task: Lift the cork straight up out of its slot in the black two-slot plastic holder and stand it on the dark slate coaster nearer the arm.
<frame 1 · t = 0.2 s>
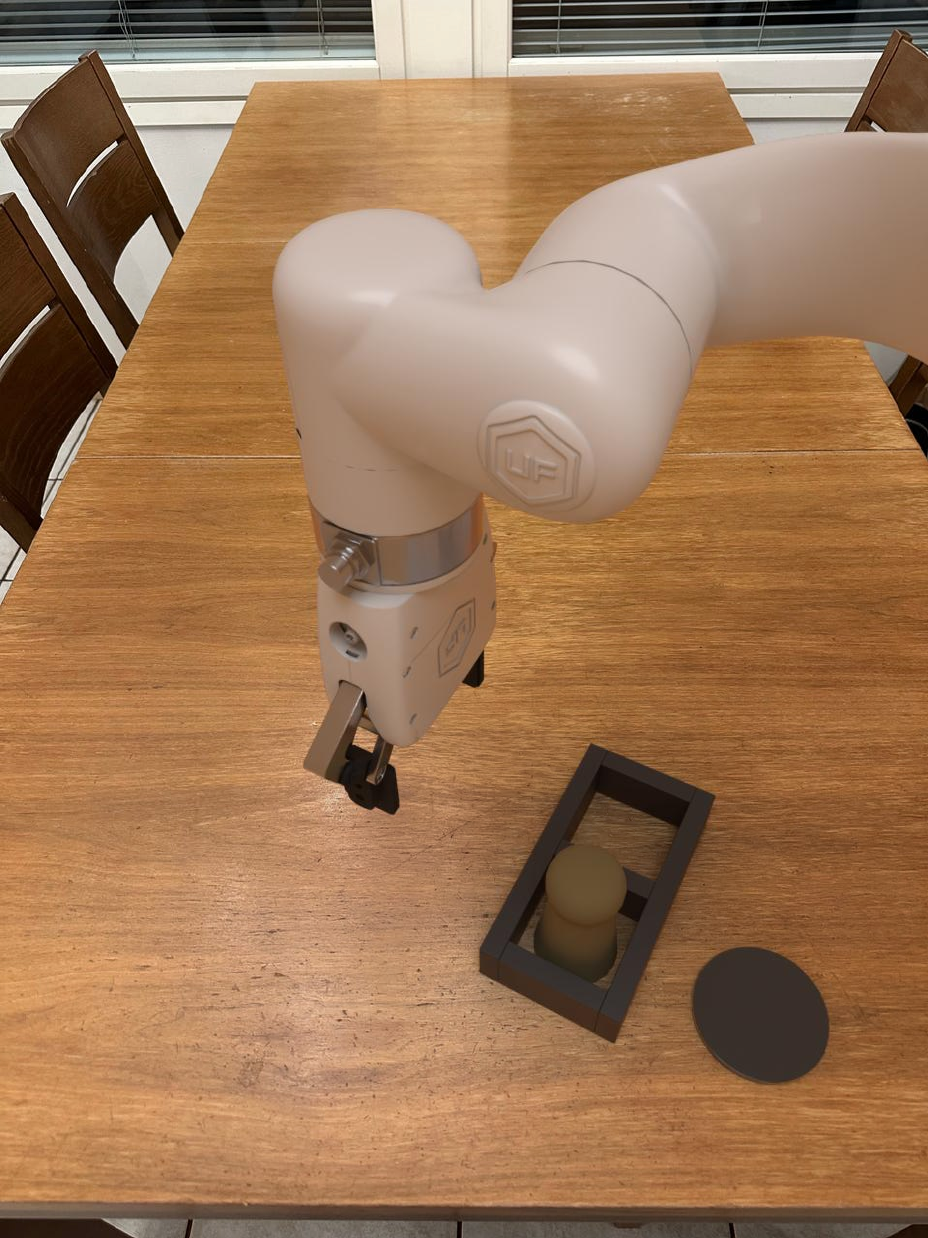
hand: (417, 735, 54), 21 cm above the table, tool pointing down, fingers open, 9 cm apart
coaster: (758, 1014, 64), on the table
holder: (599, 893, 70), on the table
cork: (575, 944, 68), resting in holder
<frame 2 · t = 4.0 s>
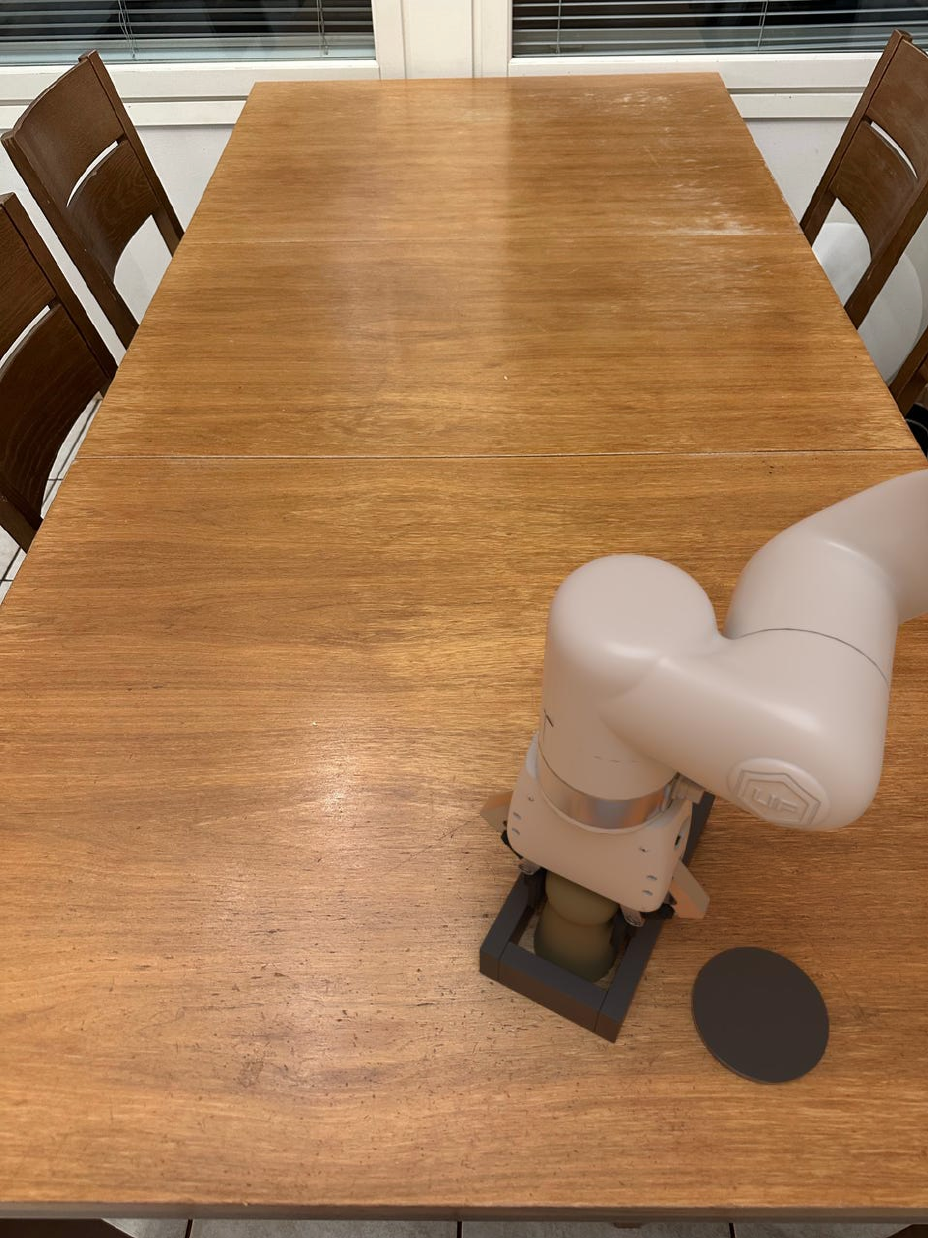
hand: (581, 907, 63), 6 cm above the table, tool pointing down, fingers closed on cork, 5 cm apart
cork: (575, 944, 68), resting in holder, touching gripper
when the fingers open (6 cm above the table, at t = 10.9 s): cork stays where it is, resting on coaster.
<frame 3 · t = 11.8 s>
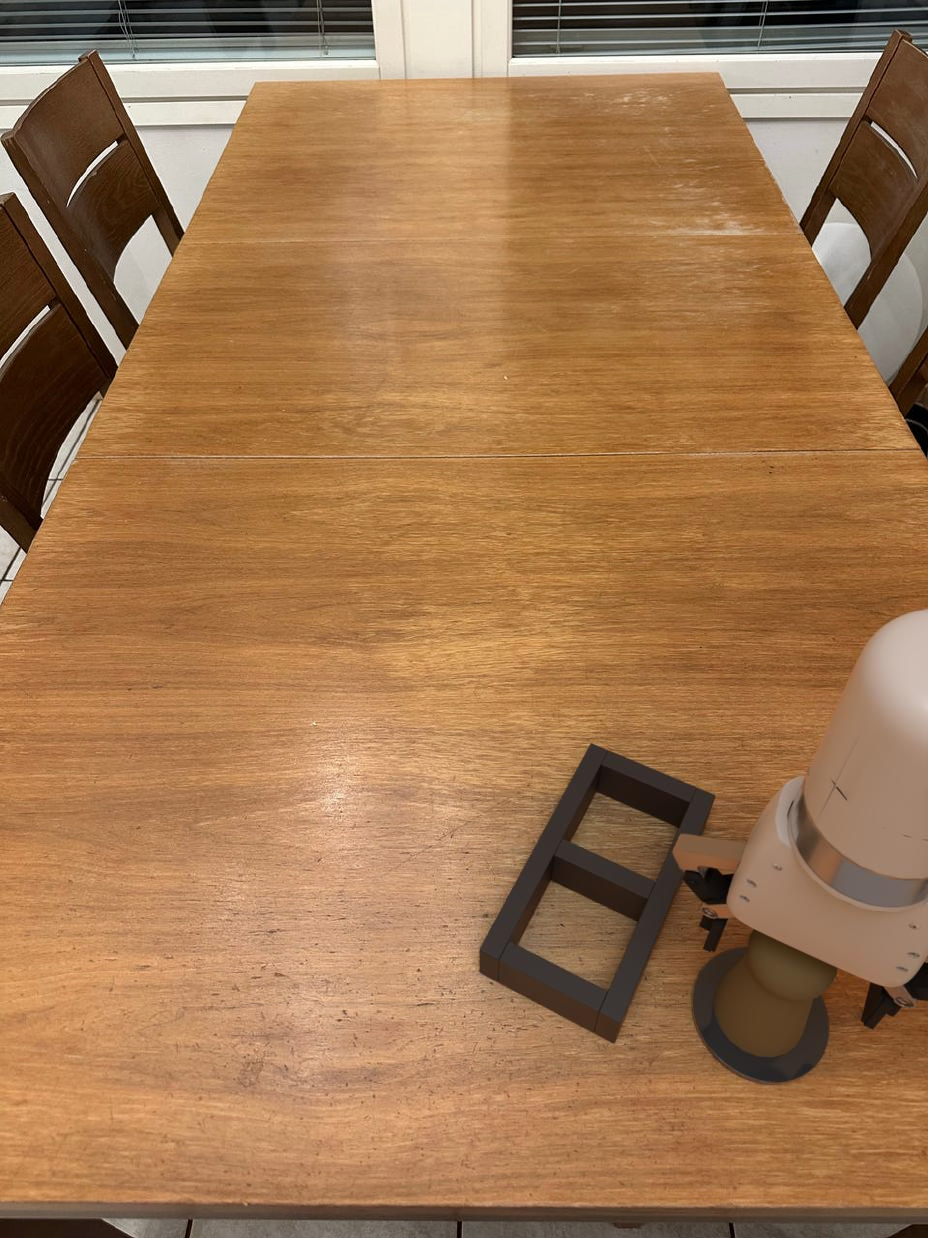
hand: (791, 967, 58), 8 cm above the table, tool pointing down, fingers open, 9 cm apart
cork: (758, 1011, 64), resting on coaster
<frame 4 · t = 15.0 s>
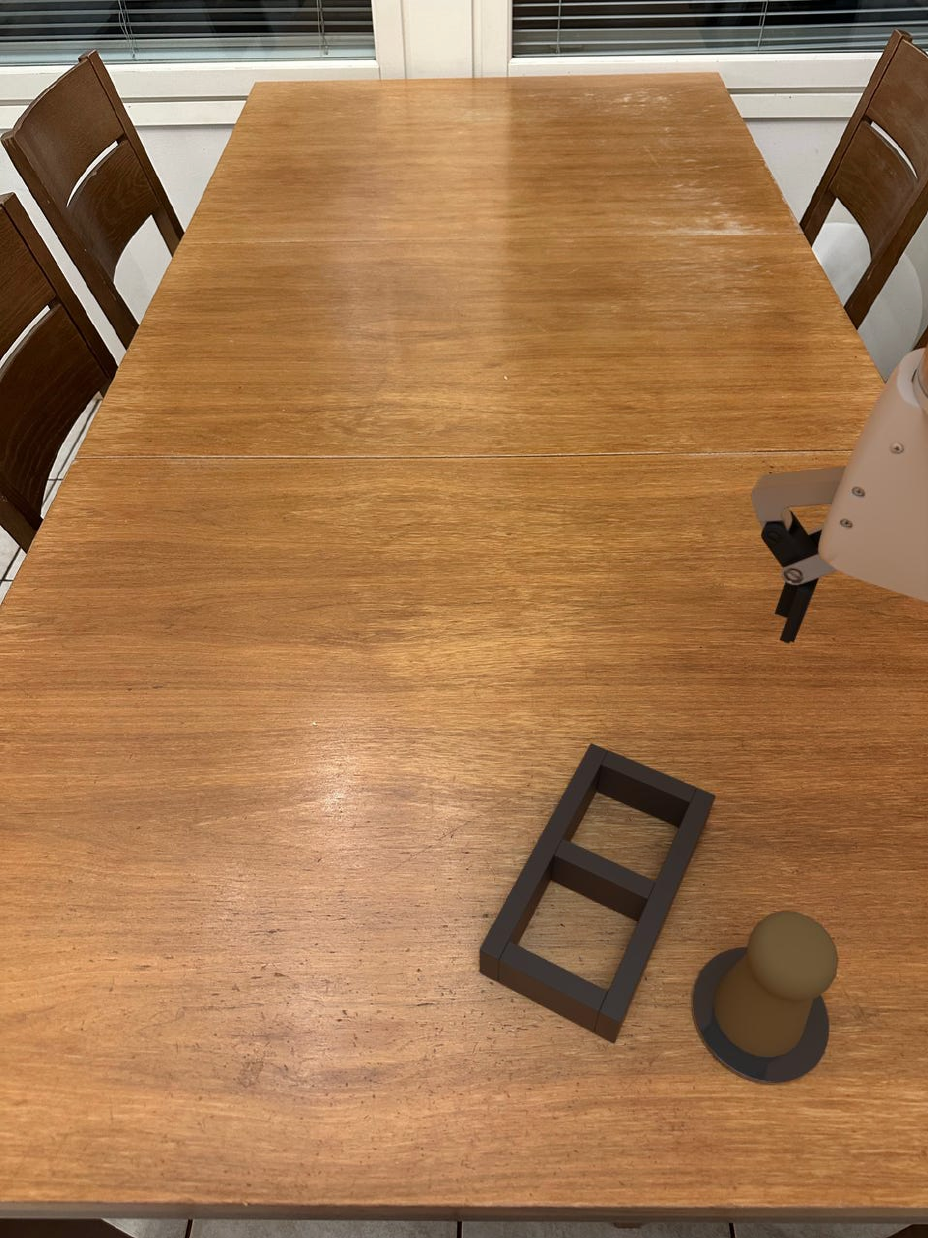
hand: (886, 657, 48), 28 cm above the table, tool pointing down, fingers open, 9 cm apart
nothing on the table moved.
at the end: cork 0.1 cm off-centre on the coaster, point 0.3 cm above the coaster's base; cork tilted 0°; the gripper is holding nothing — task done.
